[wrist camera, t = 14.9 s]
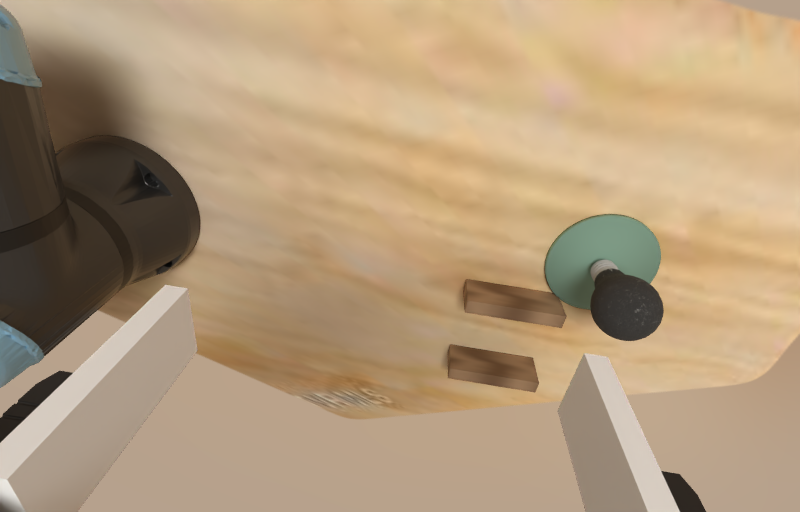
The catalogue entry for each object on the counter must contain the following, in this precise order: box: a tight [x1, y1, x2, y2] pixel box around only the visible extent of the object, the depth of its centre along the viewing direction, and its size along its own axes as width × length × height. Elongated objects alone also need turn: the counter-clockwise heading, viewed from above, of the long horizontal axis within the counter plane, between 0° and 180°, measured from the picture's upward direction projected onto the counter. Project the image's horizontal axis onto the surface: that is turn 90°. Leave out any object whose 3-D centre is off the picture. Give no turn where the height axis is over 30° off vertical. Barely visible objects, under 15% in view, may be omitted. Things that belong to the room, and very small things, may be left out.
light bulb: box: [590, 260, 663, 341], centre depth 39 cm, size 6×6×10 cm
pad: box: [545, 214, 661, 310], centre depth 43 cm, size 11×11×1 cm
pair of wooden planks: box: [448, 279, 566, 392], centre depth 47 cm, size 10×11×4 cm
